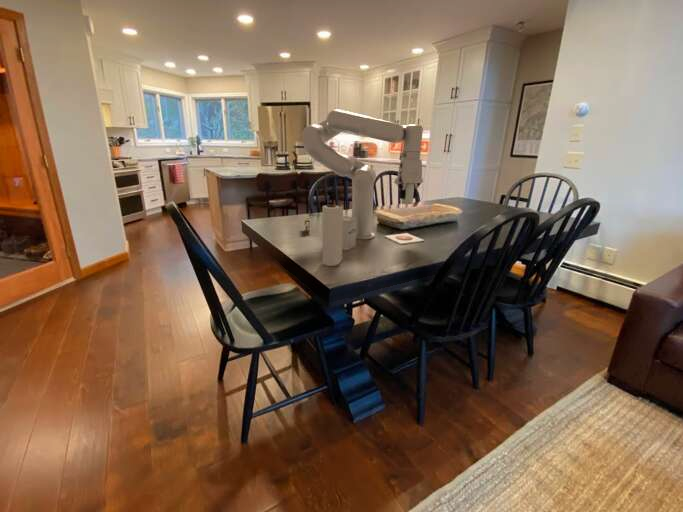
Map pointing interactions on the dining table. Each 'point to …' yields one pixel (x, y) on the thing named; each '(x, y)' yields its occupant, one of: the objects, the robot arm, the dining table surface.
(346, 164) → the robot arm
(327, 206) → the paper towel roll
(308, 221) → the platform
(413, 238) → the card
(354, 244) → the white bottle
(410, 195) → the tube
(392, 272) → the dining table surface
